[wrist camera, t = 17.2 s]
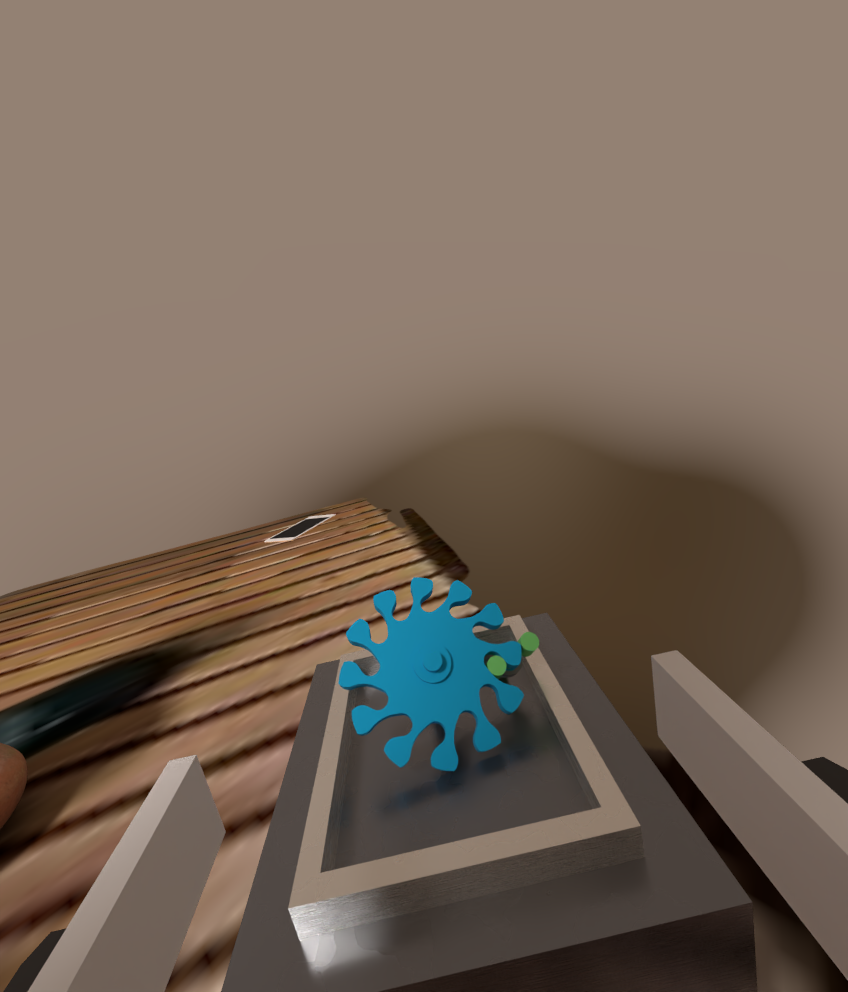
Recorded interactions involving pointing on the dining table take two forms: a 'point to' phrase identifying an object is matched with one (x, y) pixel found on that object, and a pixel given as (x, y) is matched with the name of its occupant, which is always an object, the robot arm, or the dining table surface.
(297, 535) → the cell phone
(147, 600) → the dining table surface
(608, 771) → the grey open tray
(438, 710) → the gear
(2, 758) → the ceramic jug
